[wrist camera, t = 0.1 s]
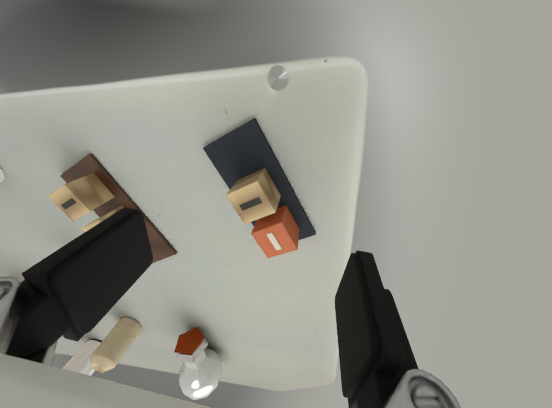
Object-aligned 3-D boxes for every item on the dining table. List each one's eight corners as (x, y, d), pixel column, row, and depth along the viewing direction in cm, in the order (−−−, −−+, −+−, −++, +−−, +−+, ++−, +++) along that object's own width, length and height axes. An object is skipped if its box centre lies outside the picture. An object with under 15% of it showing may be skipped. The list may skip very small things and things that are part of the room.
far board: (63, 174, 35) (59, 176, 35) (91, 153, 32) (88, 154, 32) (147, 263, 42) (145, 265, 42) (177, 252, 39) (175, 254, 39)
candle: (134, 316, 53) (98, 362, 44) (145, 330, 55) (114, 376, 46) (116, 317, 54) (78, 361, 45) (128, 330, 56) (94, 375, 48)
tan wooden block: (77, 183, 35) (46, 196, 31) (93, 172, 33) (63, 184, 29) (98, 206, 36) (72, 221, 32) (115, 196, 35) (89, 211, 31)
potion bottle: (213, 357, 59) (199, 315, 54) (233, 384, 52) (219, 339, 47) (179, 386, 53) (159, 342, 48) (196, 421, 46) (175, 374, 41)
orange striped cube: (258, 215, 32) (250, 233, 28) (286, 204, 31) (281, 222, 27) (273, 238, 34) (267, 258, 30) (299, 229, 32) (297, 249, 28)
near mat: (204, 147, 29) (202, 148, 29) (255, 118, 26) (254, 118, 26) (269, 247, 35) (268, 249, 35) (315, 232, 33) (315, 234, 32)
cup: (91, 333, 61) (33, 397, 48) (117, 348, 63) (68, 413, 50) (82, 341, 64) (26, 403, 52) (106, 355, 66) (58, 418, 54)
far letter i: (105, 213, 37) (80, 229, 33) (122, 204, 35) (97, 219, 31) (124, 233, 39) (102, 251, 35) (141, 225, 37) (120, 243, 33)
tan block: (237, 180, 30) (224, 195, 26) (265, 167, 28) (256, 181, 24) (253, 206, 32) (244, 224, 28) (281, 195, 30) (275, 213, 26)
